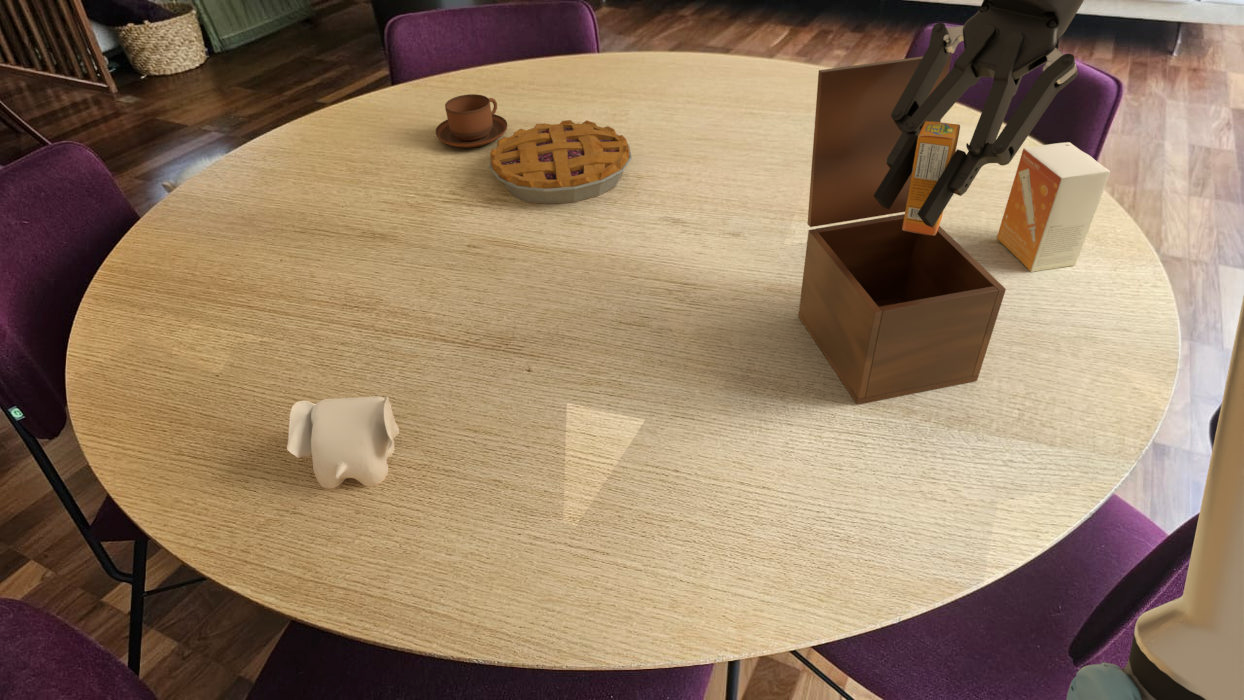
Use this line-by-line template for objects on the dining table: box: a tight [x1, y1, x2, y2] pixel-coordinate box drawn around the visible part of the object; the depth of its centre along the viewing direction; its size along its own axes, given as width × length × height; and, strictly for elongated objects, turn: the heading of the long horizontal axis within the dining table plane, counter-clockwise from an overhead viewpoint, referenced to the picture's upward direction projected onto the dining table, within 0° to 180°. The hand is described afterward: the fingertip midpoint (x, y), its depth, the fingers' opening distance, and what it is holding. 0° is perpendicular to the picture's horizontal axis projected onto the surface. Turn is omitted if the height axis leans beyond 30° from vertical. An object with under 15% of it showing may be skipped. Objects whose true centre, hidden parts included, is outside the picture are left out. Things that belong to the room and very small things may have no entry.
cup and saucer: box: [435, 93, 508, 148], centre depth 135 cm, size 12×12×6 cm
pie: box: [488, 119, 633, 205], centre depth 123 cm, size 22×22×5 cm
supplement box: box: [902, 121, 961, 236], centre depth 75 cm, size 3×3×10 cm
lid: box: [807, 53, 952, 228], centre depth 86 cm, size 16×14×6 cm
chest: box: [797, 213, 1007, 405], centre depth 86 cm, size 16×14×12 cm
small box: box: [996, 141, 1111, 273], centre depth 99 cm, size 8×6×13 cm
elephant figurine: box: [286, 395, 400, 490], centre depth 77 cm, size 10×12×9 cm
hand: (903, 211), depth 74 cm, fingers closed on supplement box, 4 cm apart
